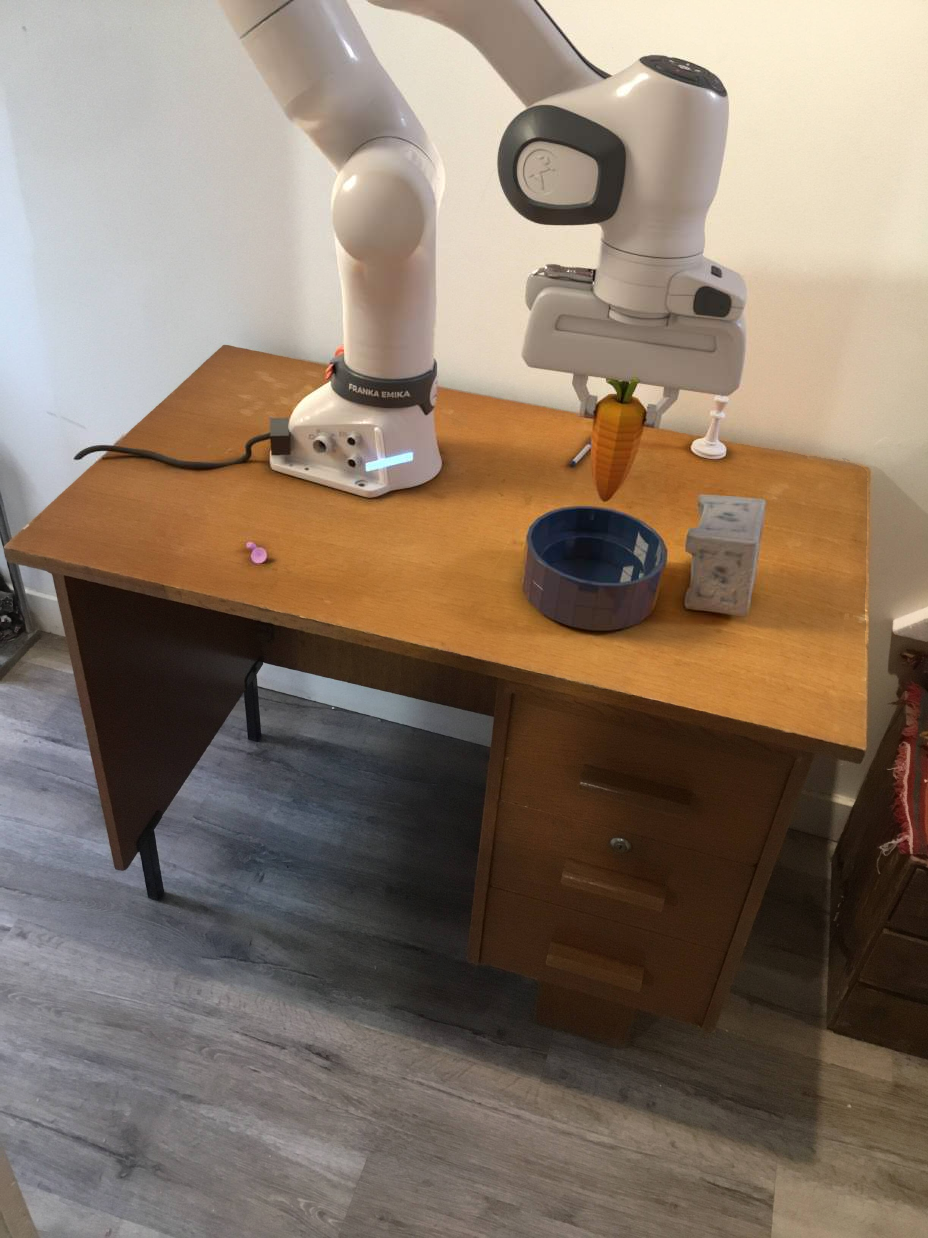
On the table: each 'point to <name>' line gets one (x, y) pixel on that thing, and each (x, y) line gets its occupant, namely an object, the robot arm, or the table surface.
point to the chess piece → (712, 433)
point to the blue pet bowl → (593, 567)
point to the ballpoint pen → (581, 454)
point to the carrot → (616, 437)
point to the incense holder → (724, 553)
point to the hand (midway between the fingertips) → (619, 420)
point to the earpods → (257, 553)
